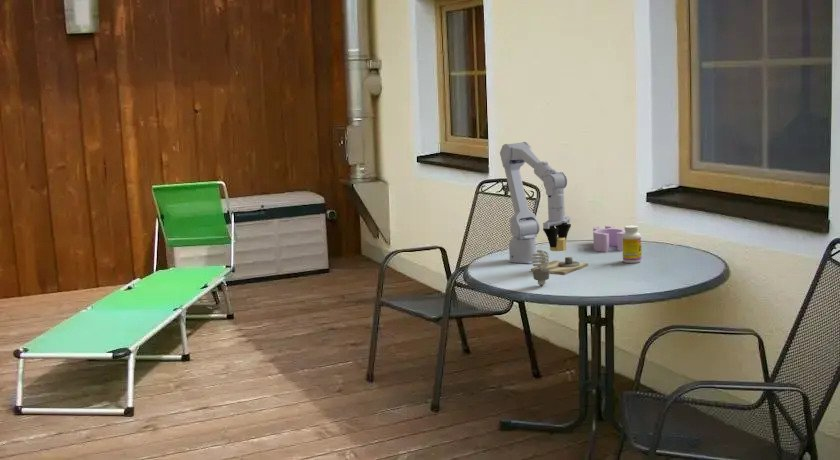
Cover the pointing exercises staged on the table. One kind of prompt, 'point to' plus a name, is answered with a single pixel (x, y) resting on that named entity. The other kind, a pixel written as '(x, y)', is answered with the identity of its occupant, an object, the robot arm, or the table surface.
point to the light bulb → (541, 273)
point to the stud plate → (563, 266)
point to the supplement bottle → (631, 245)
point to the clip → (607, 238)
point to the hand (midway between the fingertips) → (557, 245)
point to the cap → (559, 244)
